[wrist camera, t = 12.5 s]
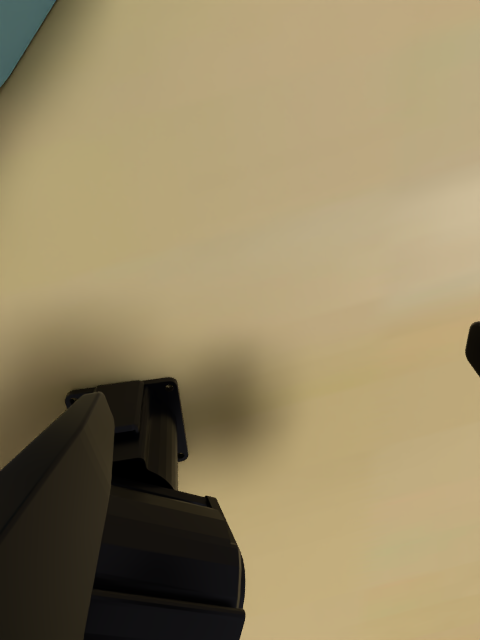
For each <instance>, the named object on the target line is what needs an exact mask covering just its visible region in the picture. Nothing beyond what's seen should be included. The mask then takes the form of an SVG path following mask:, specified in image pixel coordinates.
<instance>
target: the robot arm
mask: <svg viewBox="0 0 480 640" xmlns="http://www.w3.org/2000/svg"><path fill="white" fill-rule="evenodd" d="M465 354H466V357H467V360H468V361H469V363H470V364H471V366H472V367H473V368H474V370H475V371H476V373H477V374H478V375H479V377H480V321H478V322H474V323H473V324H472V325H471V326H470V329H469V334H468V339H467V344H466V349H465ZM166 385H172V386H173V387H171V388H168V387H166ZM72 398H77V399H78V400H77V401H74V400H73V399H72ZM65 403H66V406H67V410H66V411H65V412H64V413H63V414H62V415H61V416H59V417H58V418H57V419H56V420H55V421H54V422H53V423H52V424H51V425H50V426H49V427H47V428H46V429H45V430H44V431H43V432H42V433H41V434H40V435H39V436H38V437H37V438H36V439H34V440H33V441H32V442H31V443H30V444H29V445H28V446H27V447H26V448H25V449H24V450H22V451H21V452H20V453H19V454H18V455H17V456H16V457H15V458H14V459H13V460H12V461H10V462H9V463H8V464H7V465H6V466H5V467H4V468H3V469H2V470H1V471H0V640H239V639H240V636H241V632H242V629H243V625H244V621H245V611H244V609H243V603H244V597H245V569H244V563H243V558H242V555H241V552H240V550H239V547H238V545H237V543H236V541H235V539H234V536H233V534H232V532H231V530H230V528H229V526H228V523H227V521H226V519H225V517H224V515H223V512H222V510H221V508H220V506H219V504H218V501H217V499H216V498H214V497H210V496H205V497H201V496H197V495H193V494H189V493H185V492H181V491H178V462H180V461H184V460H185V459H187V457H188V448H187V441H186V434H185V428H184V421H183V415H182V408H181V402H180V395H179V389H178V383H177V381H176V380H175V379H174V378H169V377H168V378H161V379H153V380H146V381H139V380H138V381H130V382H123V383H115V384H108V385H100V386H97V387H94V388H87V389H79V390H73V391H70V392H69V393H68V394H67V397H66V399H65ZM178 453H183V454H178Z"/></svg>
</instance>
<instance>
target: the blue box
mask: <svg viewBox="0 0 480 640" xmlns="http://www.w3.org/2000/svg"><path fill="white" fill-rule="evenodd" d="M55 1H56V0H0V87H1V86H2V85H3V84H4V82H5V81H6V80H7V78H8V77H9V76H10V74H11V73H12V71H13V69H14V68H15V66H16V64H17V63H18V61H19V60H20V58H21V56H22V55H23V53H24V51H25V50H26V48H27V47H28V45H29V43H30V42H31V40H32V38H33V37H34V35H35V34H36V32H37V30H38V29H39V27H40V26H41V24H42V22H43V21H44V19H45V17H46V16H47V14H48V13H49V11H50V9H51V8H52V6H53V4H54V3H55Z"/></svg>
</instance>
